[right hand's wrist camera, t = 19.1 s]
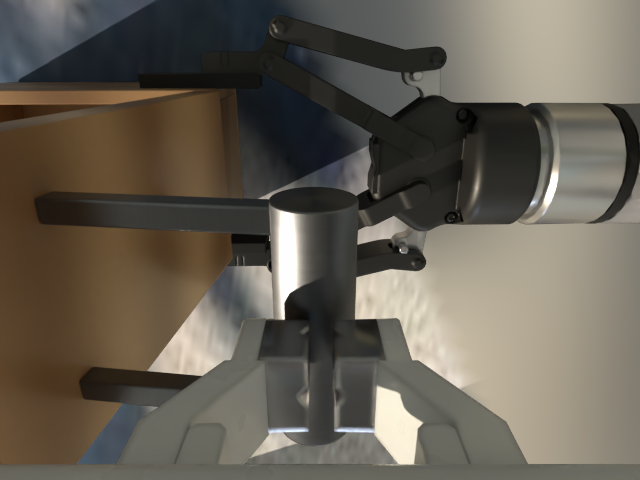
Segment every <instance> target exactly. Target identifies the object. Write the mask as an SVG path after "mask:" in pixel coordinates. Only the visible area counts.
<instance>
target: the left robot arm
mask: <svg viewBox="0 0 640 480" xmlns="http://www.w3.org/2000/svg"><path fill="white" fill-rule="evenodd" d="M289 44H293V45H296V46H300V47H304V48H307V49H311V50H314V51H318V52H322V53H325V54H329V55H333V56H336V57H340V58H344V59H347V60H351V61H354V62H358V63H362V64H365V65H369V66H373V67H376V68H380V69H384V70H389V71H394V72H401V74H402V80H403V82H404V83H405V84H407V85H410V86H414V87H416V88H417V89H418V90H419V92H420V97H418V98H417V99H416V100H414V101H413V102H411V103H410V104H409V105H407V106H406V107H404V108H403V109H402V110H400V111H399V112H398V113H396V114H395V115H393V116H392V117H389V116H387V115H385V114H384V113H382V112H380V111H378V110H376V109H375V108H373V107H371V106H369V105H367V104H365V103H364V102H362V101H360V100H358V99H357V98H355V97H353V96H351V95H349V94H348V93H346V92H344V91H342V90H341V89H339V88H337V87H335V86H333V85H332V84H330V83H328V82H326V81H325V80H323V79H321V78H319V77H317V76H316V75H314V74H312V73H310V72H308V71H307V70H305V69H303V68H301V67H300V66H298V65H296V64H294V63H292V62H291V61H289V60H287V59H285V55H286V51H287V48H288V45H289ZM446 58H447V56H446V52H445V51H444V49H442V48H441V47H427V48H418V49H409V50H404V49H400V48H397V47H393V46H389V45H386V44H382V43H379V42H375V41H372V40H368V39H365V38H361V37H358V36H354V35H351V34H347V33H343V32H340V31H336V30H333V29H329V28H326V27H322V26H319V25H315V24H311V23H308V22H304V21H301V20H297V19H294V18H290V17H287V16H283V15H277V16H275V17H273V18H272V19H271V21H270V24H269V30H268V33H267V37H266V40H265V43H264V45H263V46H262V48H260V49H259V50H257V51H254V52H208V53H206V54H203V55H201V61H202V72H203V73H147V74H138V77H139V84H140V88H215V89H258V88H260V87H262V86H263V85H262V75H267V76H269V77H271V78H273V79H275V80H276V81H278V82H280V83H282V84H284V85H286V86H287V87H289V88H291V89H293V90H295V91H297V92H298V93H300V94H302V95H304V96H306V97H307V98H309V99H311V100H313V101H315V102H317V103H318V104H320V105H322V106H324V107H326V108H327V109H329V110H331V111H333V112H335V113H337V114H338V115H340V116H342V117H344V118H346V119H348V120H349V121H351V122H353V123H355V124H357V125H358V126H360V127H362V128H363V129H365V130H367V131H368V132H370V133H372V134H373V135H372V138H369V152H370V157H371V161H372V163H371V166H370V169H369V172H368V187H369V189H368V190H366V191H364V192H362V193H360V194H359V195H357V196H356V197H357V198H358V200H359V209H358V230H359V229H361V228H363V227H366V226H374V225H376V224H378V223H380V222H382V221H384V220H386V219H388V218H390V217H392V216H395V217H397V218H398V219H400V220H401V221H402V222H404V223H405V224H407V225H408V226H409V227H408V229H407V230H406V231H404V232H401V233H396V234H395V235H393V236H392V238H391V239H382V240H376V241H372V242H367V243H363V244H359V245H357V269H356V277H359V276H363V275H367V274H372V273H376V272H380V271H384V270H389V269H396V270H408V271H420V270H422V269H423V268H424V267H425V265H426V259H425V257H424V256H423V247H424V242H425V238H426V233H427V231H429V230H431V229H433V228H435V227H437V226H440V225H443V224H460V225H464V224H465V225H466V224H511V223H513V222H515V221H516V220H517V221H518V222H520V223H523V224H565V223H639V224H640V104H608V103H531V104H529V105H527V106H525V107H524V106H523V105H521V104H519V103H454V102H450V101H448V100H447V99H445V98H444V97H442V96H440V68H441V67H443V66H444V64H445V62H446ZM231 244H232V256H233V258H232V260H231V261H230V262H229V264H228V265H227V266H267V268H268V270H269V271H270V272H271V273H272V265H271V243H270V241H269V235H253V234H232V235H231Z"/></svg>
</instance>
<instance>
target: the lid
mask: <svg viewBox="0 0 640 480" xmlns="http://www.w3.org/2000/svg"><path fill="white" fill-rule="evenodd" d="M358 209H359V200H358V198H357V197H356V196H355V195H354V194H352V193H350V192H347V191H344V190H340V189H334V188H325V187H303V188H294V189H289V190H285V191H281V192H278V193H276V194H274V195H273V196H271V197H270V199H243V198H228V194H227V182H226V169H225V157H224V144H223V132H222V120H221V107H220V95H219V91H191V92H185V93H179V94H173V95H167V96H161V97H154V98H148V99H142V100H136V101H130V102H124V103H118V104H111V105H105V106H99V107H93V108H87V109H81V110H75V111H68V112H62V113H56V114H50V115H44V116H38V117H31V118H25V119H19V120H13V121H7V122H1V123H0V464H77V463H78V461H79V460H80V459H81V457H82V456H83V455H84V453H85V452H86V451H87V449H88V448H89V447H90V446H91V444H92V443H93V442H94V440H95V439H96V438H97V436H98V435H99V434H100V432H101V431H102V430H103V428H104V427H105V426H106V424H107V423H108V422H109V420H110V419H111V418H112V417H113V415H114V414H115V413H116V411H117V410H118V409H119V407H120V406H121V405H122V403H125V404H135V405H145V406H155V407H159V406H161V405H162V404H163V403H165V402H166V401H168V400H169V399H171V398H172V397H173V396H175V395H176V394H178V393H179V392H181V391H182V390H183V389H185V388H186V387H188V386H189V385H191V384H192V383H193V382H195V381H196V380H198V379H199V378H201V377H202V376H195V375H184V374H172V373H161V372H150V371H147V370H148V369H149V368H150V366H151V365H152V364H153V362H154V361H155V360H156V358H157V357H158V356H159V355H160V353H161V352H162V351H163V349H164V348H165V347H166V345H167V344H168V343H169V341H170V340H171V339H172V337H173V336H174V335H175V333H176V332H177V331H178V329H179V328H180V327H181V326H182V324H183V323H184V322H185V320H186V319H187V318H188V316H189V315H190V314H191V312H192V311H193V310H194V308H195V307H196V306H197V304H198V303H199V302H200V300H201V299H202V298H203V297H204V295H205V294H206V293H207V291H208V290H209V289H210V287H211V286H212V285H213V283H214V282H215V281H216V279H217V278H218V277H219V275H220V274H221V273H222V271H223V270H224V269H225V267H226V266H227V265H228V264H229V262H230V261H231V260H232V258H233V256H232V244H231V233H232V234H253V235H270V243H271V265H272V288H273V310H274V319H306V320H310V394H309V430H308V431H304V432H283V433H284V434H285V435H286V436H287V437H288V438H290V439H291V440H293V441H294V442H296V443H299V444H302V445H307V446H323V445H327V444H330V443H333V442H335V441H337V440H338V439H340V438H341V437H342V436H343V435H344V434H345V433H346V432H338V431H334V412H333V384H332V352H333V320H355V298H356V269H357V239H358Z"/></svg>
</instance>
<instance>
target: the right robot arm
mask: <svg viewBox="0 0 640 480" xmlns="http://www.w3.org/2000/svg"><path fill="white" fill-rule="evenodd" d="M332 384H333V412H334V431H338V432H374V435H375V436H376V437H377V438H378V440H379V441H380V442H381V443H382V445H383V446H384V447H385V448H386V449H387V451H388V452H389V453H390V454H391V456H392V457H393V458H394V459H395V461H396V462H397V463H398V464H245V463H246V462H247V461H248V460H249V458H250V457H251V456H252V455H253V453H254V452H255V451H256V450H257V449H258V447H259V446H260V445H261V444H262V442H263V441H264V440H265V439H266V437H267V436H268V435H269V432H304V431H308V430H309V394H310V320H306V319H267V320H266V319H265V318H261V319H245V320H244V321H243V322H242V326H241V329H240V332H239V336H238V339H237V342H236V346H235V349H234V352H233V356H232V359H231V360H229V361H223V362H222V363H221V364H219V365H218V366H216V367H215V368H213V369H212V370H211V371H209V372H208V373H206V374H205V375H203V376H202V377H201V378H199V379H198V380H196V381H195V382H193V383H192V384H191V385H189V386H188V387H186V388H185V389H183V390H182V391H181V392H179V393H178V394H176V395H175V396H173V397H172V398H171V399H169V400H168V401H166V402H165V403H163V404H162V405H161V406H159V407H158V408H156V409H155V410H154V411H152V412H151V413H149V414H148V415H146V416H145V417H144V418H142V419H141V420H139V421H138V423H137V425H136V427H135V428H134V430H133V432H132V434H131V436H130V438H129V440H128V442H127V444H126V446H125V448H124V450H123V452H122V454H121V456H120V458H119V460H118V462H117V464H0V480H640V464H528V463H527V461H526V459H525V457H524V456H523V454H522V452H521V450H520V448H519V446H518V444H517V442H516V440H515V438H514V436H513V434H512V432H511V430H510V428H509V426H508V424H507V423H506V421H504V420H503V419H501V418H500V417H498V416H497V415H496V414H494V413H493V412H491V411H490V410H488V409H487V408H486V407H484V406H483V405H481V404H480V403H478V402H477V401H476V400H474V399H473V398H471V397H470V396H468V395H467V394H466V393H464V392H463V391H461V390H460V389H458V388H457V387H456V386H454V385H453V384H451V383H450V382H448V381H447V380H445V379H444V378H443V377H441V376H440V375H438V374H437V373H435V372H434V371H433V370H431V369H430V368H428V367H427V366H425V365H424V364H423V363H421V362H420V361H414V360H412V359H411V356H410V352H409V349H408V346H407V343H406V340H405V337H404V333H403V330H402V327H401V324H400V321H399V319H397V318H391V319H359V320H333V352H332Z"/></svg>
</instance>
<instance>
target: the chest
mask: <svg viewBox="0 0 640 480" xmlns="http://www.w3.org/2000/svg"><path fill="white" fill-rule="evenodd" d="M191 91H219V95H220V107H221V120H222V132H223V144H224V157H225V169H226V182H227V194H228V198H243V186H242V171H241V156H240V141H239V126H238V111H237V96H236V89H215V88H140V84H139V82H10V83H0V123H1V122H7V121H13V120H19V119H25V118H31V117H38V116H44V115H50V114H56V113H62V112H68V111H75V110H81V109H87V108H93V107H99V106H105V105H111V104H118V103H124V102H130V101H136V100H142V99H148V98H154V97H161V96H167V95H173V94H179V93H185V92H191ZM231 235H232V233H231Z"/></svg>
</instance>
